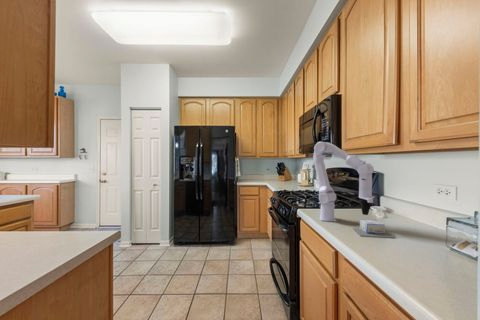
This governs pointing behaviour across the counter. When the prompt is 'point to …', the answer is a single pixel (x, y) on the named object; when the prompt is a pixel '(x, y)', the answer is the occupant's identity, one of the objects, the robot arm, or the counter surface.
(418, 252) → the counter surface
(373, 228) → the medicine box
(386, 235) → the mat
